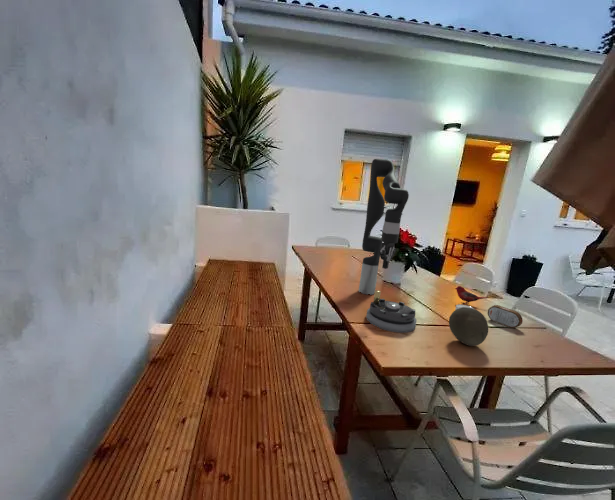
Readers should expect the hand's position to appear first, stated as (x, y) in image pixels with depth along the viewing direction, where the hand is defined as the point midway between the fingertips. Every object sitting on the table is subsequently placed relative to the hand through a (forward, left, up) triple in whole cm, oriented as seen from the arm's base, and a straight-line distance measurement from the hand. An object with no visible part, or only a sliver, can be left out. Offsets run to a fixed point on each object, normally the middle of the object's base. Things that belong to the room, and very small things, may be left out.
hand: (385, 268), depth 145 cm
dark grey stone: (-4, +38, -23) cm, 45 cm away
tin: (-45, +44, -23) cm, 67 cm away
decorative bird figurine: (-61, +24, -23) cm, 69 cm away
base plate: (+3, +8, -23) cm, 25 cm away
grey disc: (+3, +9, -20) cm, 22 cm away
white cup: (-20, +32, -23) cm, 44 cm away
